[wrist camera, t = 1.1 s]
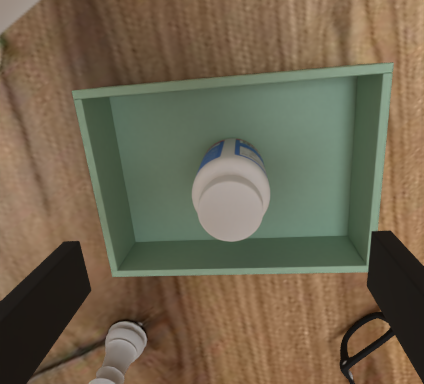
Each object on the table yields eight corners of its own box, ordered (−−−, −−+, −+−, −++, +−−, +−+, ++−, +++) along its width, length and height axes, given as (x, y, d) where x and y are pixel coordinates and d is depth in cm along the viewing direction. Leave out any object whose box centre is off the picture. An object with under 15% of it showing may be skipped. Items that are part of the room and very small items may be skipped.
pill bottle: (206, 199, 30) (190, 255, 21) (198, 140, 28) (175, 174, 19) (267, 193, 29) (277, 249, 20) (262, 133, 28) (271, 165, 18)
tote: (103, 86, 28) (71, 90, 23) (364, 63, 26) (394, 62, 20) (132, 245, 33) (112, 277, 28) (352, 238, 31) (373, 272, 26)
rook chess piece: (131, 355, 38) (103, 425, 31) (101, 332, 38) (66, 398, 30) (156, 336, 37) (133, 404, 29) (126, 311, 36) (95, 375, 29)
